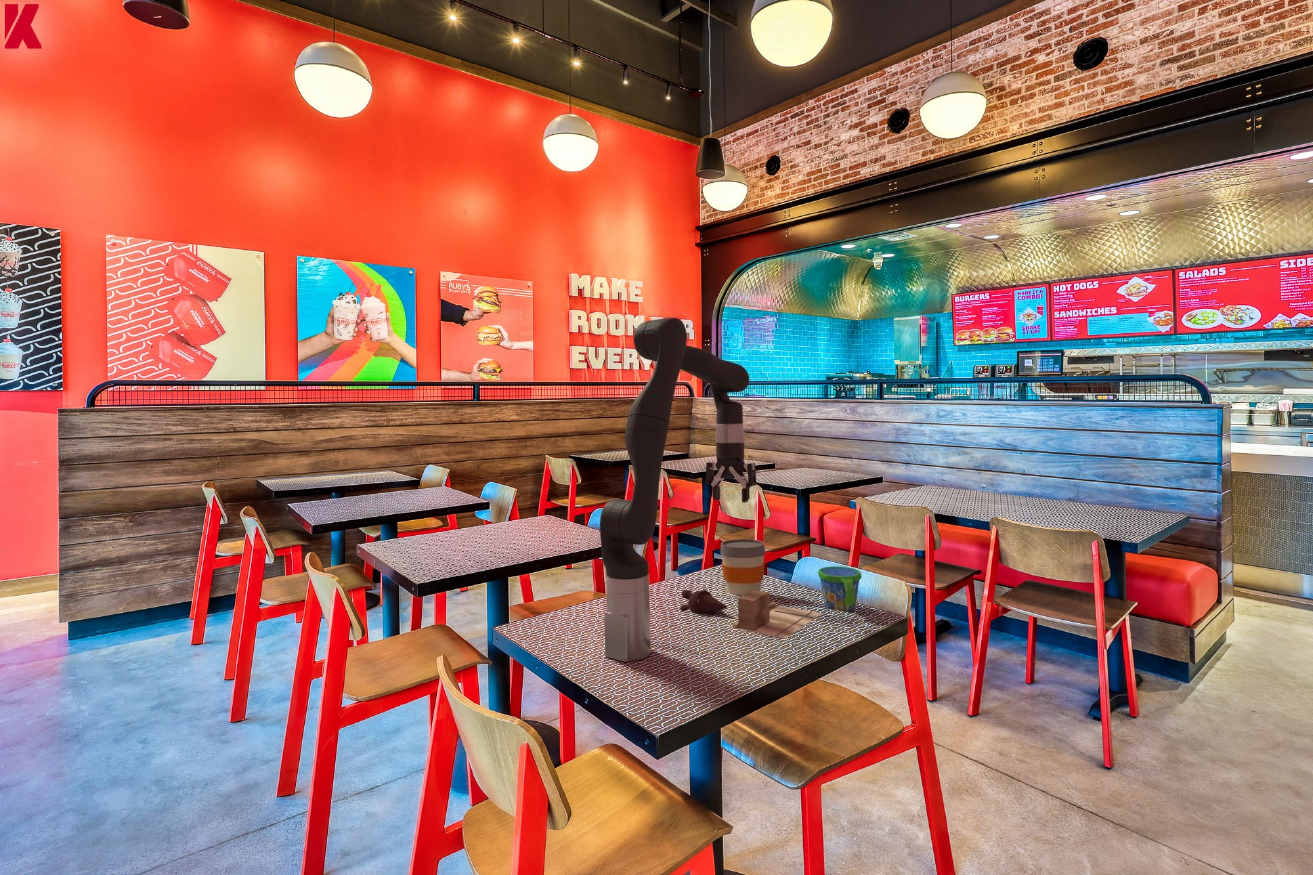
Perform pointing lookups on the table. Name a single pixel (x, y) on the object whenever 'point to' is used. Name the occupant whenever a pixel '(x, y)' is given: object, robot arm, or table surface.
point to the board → (783, 621)
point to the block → (753, 610)
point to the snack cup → (839, 587)
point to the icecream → (701, 602)
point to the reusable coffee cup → (742, 565)
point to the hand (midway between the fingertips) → (730, 501)
